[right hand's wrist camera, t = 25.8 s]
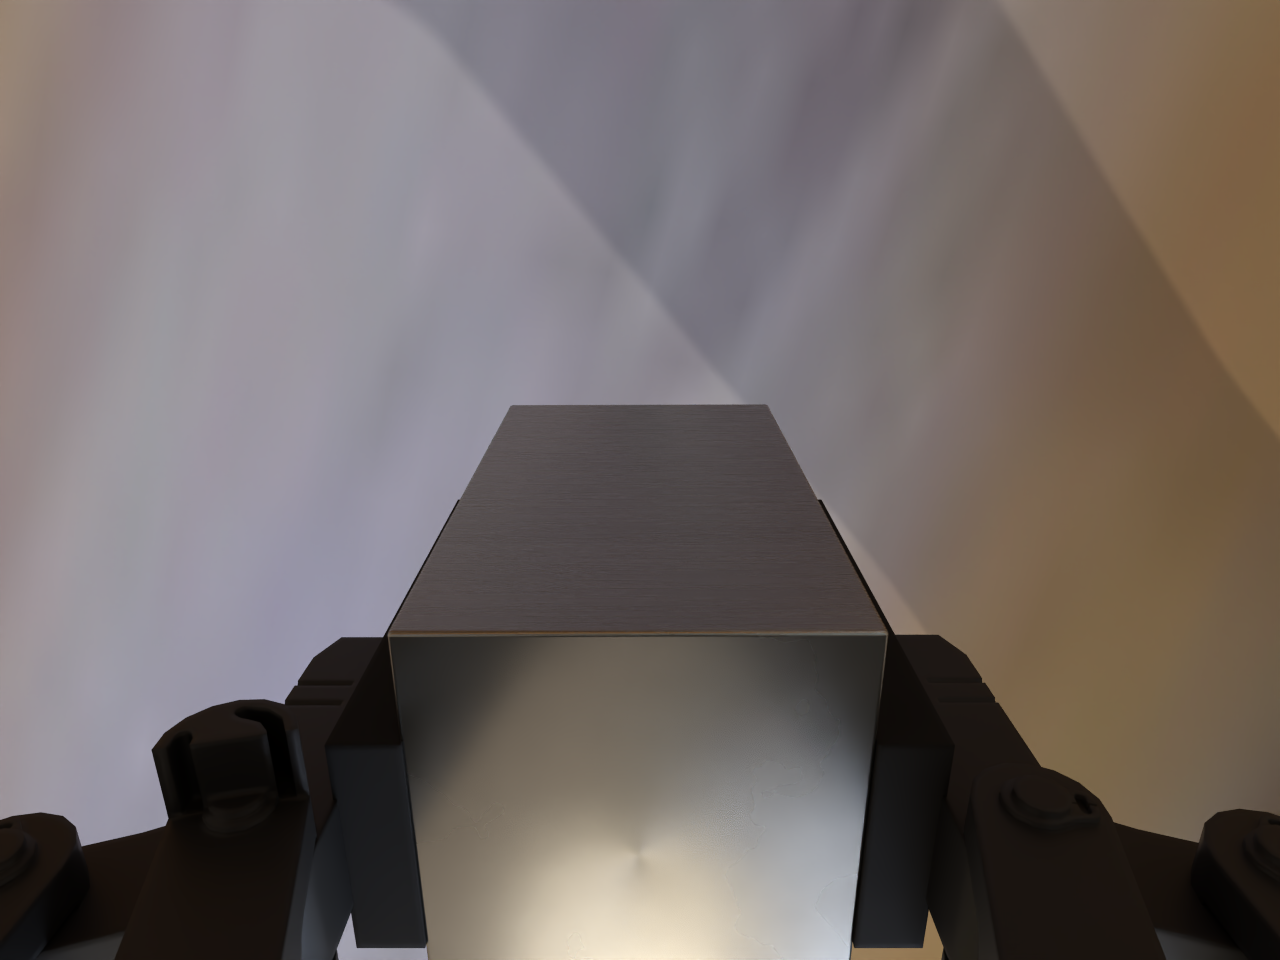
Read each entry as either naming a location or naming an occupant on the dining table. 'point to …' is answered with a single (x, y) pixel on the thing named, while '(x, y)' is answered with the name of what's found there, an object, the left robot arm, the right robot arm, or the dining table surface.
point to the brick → (638, 697)
